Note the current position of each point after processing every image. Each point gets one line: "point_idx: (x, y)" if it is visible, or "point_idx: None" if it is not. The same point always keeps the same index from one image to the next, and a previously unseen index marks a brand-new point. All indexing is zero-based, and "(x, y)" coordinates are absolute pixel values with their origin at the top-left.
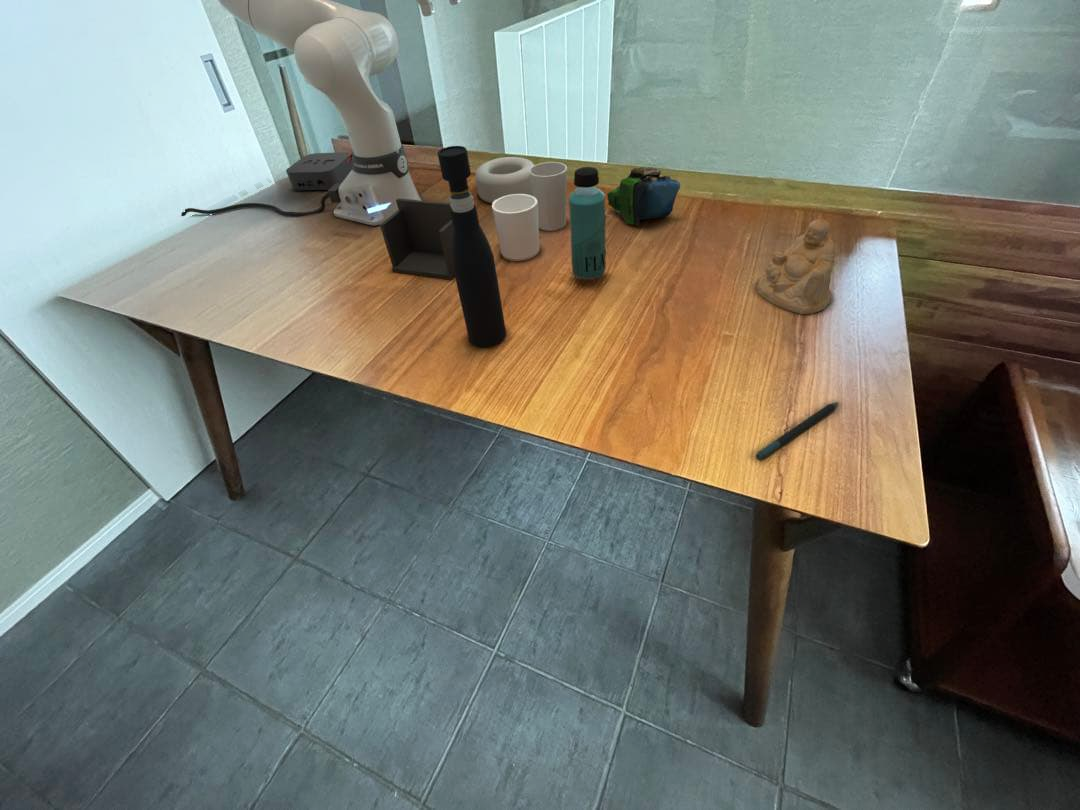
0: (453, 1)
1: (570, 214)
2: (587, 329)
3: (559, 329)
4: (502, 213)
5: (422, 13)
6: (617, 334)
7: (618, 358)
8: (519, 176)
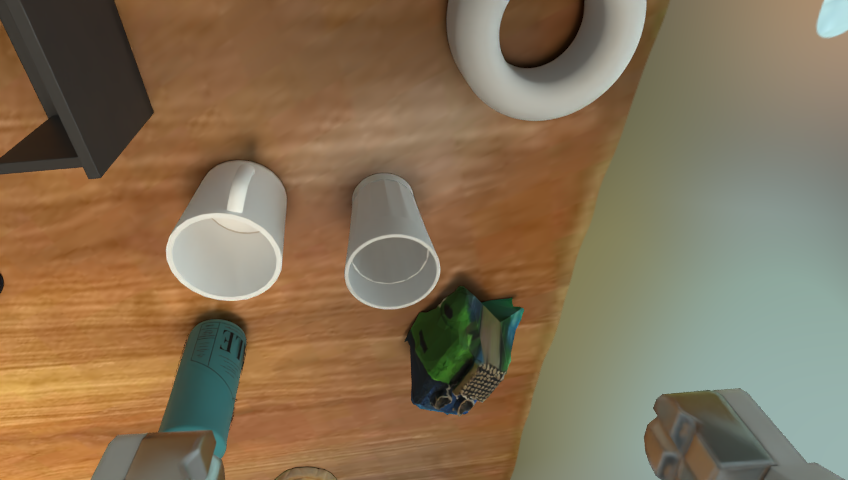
0: (667, 436)
1: (169, 411)
2: (96, 372)
3: (69, 347)
4: (167, 257)
5: (105, 452)
6: (113, 400)
7: (69, 415)
8: (496, 107)
